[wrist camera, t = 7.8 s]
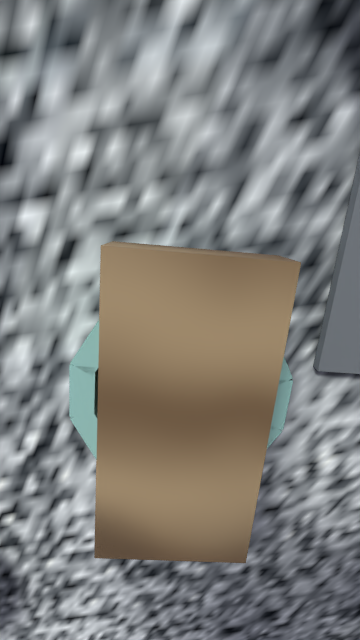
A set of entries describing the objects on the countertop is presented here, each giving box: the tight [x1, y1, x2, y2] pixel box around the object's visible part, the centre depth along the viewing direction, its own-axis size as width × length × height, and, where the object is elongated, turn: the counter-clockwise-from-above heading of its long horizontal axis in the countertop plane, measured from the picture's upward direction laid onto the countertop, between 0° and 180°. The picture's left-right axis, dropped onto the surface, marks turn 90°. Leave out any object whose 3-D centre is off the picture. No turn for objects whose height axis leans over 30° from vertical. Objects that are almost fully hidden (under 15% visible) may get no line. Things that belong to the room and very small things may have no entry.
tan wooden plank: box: [95, 241, 301, 563], centre depth 13 cm, size 12×6×2 cm, turn 175°
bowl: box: [70, 321, 293, 460], centre depth 16 cm, size 9×9×4 cm
